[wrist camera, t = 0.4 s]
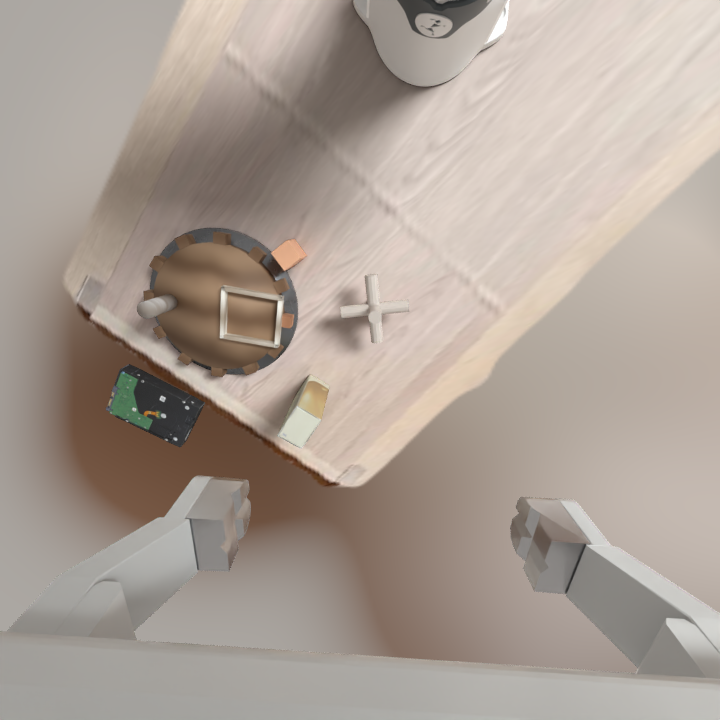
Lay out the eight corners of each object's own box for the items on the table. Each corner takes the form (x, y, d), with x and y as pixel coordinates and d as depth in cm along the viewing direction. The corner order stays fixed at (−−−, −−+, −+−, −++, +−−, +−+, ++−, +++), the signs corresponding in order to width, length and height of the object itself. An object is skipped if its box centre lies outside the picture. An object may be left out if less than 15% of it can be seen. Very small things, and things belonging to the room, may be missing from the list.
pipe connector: (347, 334, 56) (342, 355, 47) (339, 274, 52) (333, 283, 43) (406, 328, 55) (414, 348, 46) (403, 267, 52) (410, 275, 42)
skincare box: (313, 410, 62) (300, 451, 50) (293, 398, 61) (275, 437, 49) (331, 384, 60) (322, 420, 48) (310, 372, 59) (296, 406, 47)
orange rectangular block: (292, 267, 52) (284, 270, 48) (279, 250, 51) (270, 253, 47) (307, 255, 52) (300, 258, 47) (294, 239, 51) (287, 240, 46)
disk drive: (207, 400, 62) (129, 362, 60) (200, 407, 60) (118, 368, 57) (188, 439, 66) (113, 405, 63) (181, 448, 63) (103, 413, 60)
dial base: (148, 214, 50) (145, 214, 49) (305, 243, 51) (305, 243, 50) (156, 360, 59) (154, 361, 58) (290, 383, 60) (289, 384, 59)
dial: (147, 218, 49) (107, 216, 42) (301, 246, 50) (289, 249, 43) (155, 360, 58) (123, 379, 50) (287, 382, 59) (274, 404, 51)
